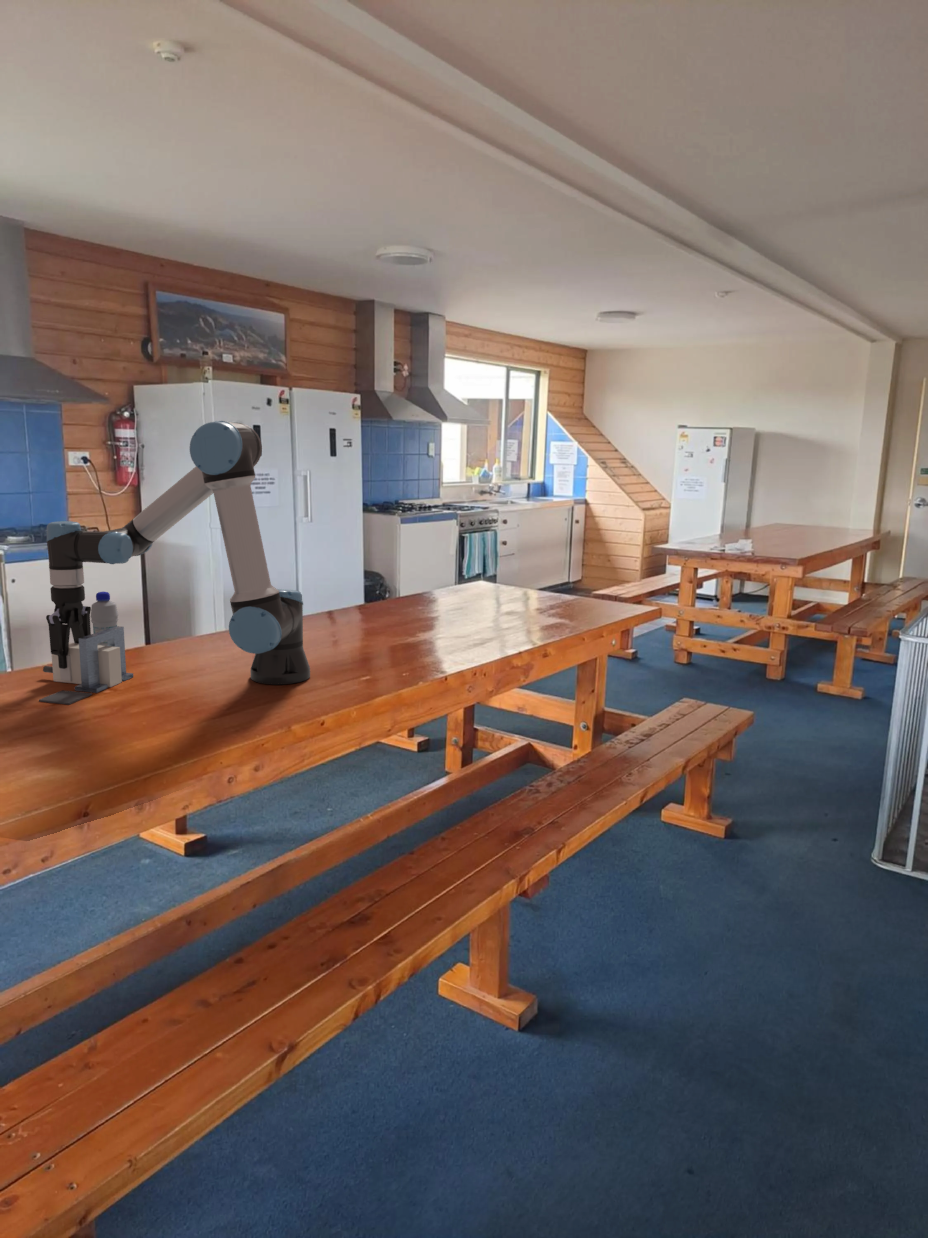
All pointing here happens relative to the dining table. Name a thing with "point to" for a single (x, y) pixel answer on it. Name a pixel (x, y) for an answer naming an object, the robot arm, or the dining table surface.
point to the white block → (107, 665)
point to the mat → (65, 697)
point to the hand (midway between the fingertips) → (73, 677)
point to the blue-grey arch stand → (90, 658)
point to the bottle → (103, 614)
